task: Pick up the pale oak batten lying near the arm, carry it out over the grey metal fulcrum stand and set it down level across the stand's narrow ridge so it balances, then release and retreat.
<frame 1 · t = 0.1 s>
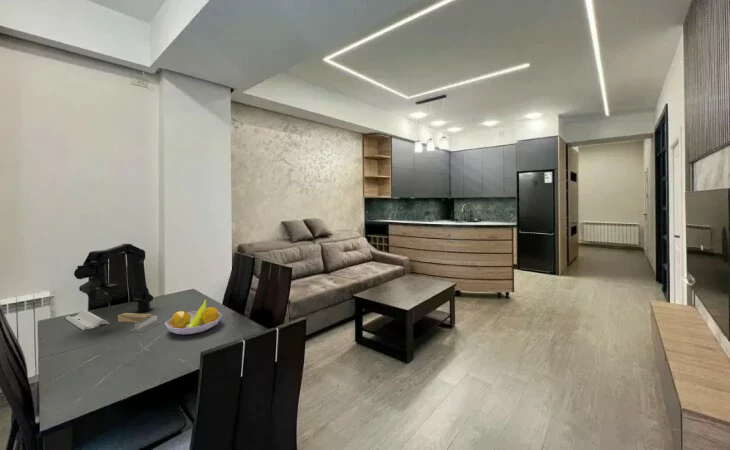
hand: (101, 303, 164), 15 cm above the table, fingers open, 9 cm apart
crown molding: (87, 322, 177), on the table
fruit bowl: (196, 328, 166), on the table
oak batten: (135, 321, 177), on the table
fulcrum stand: (146, 326, 169), on the table
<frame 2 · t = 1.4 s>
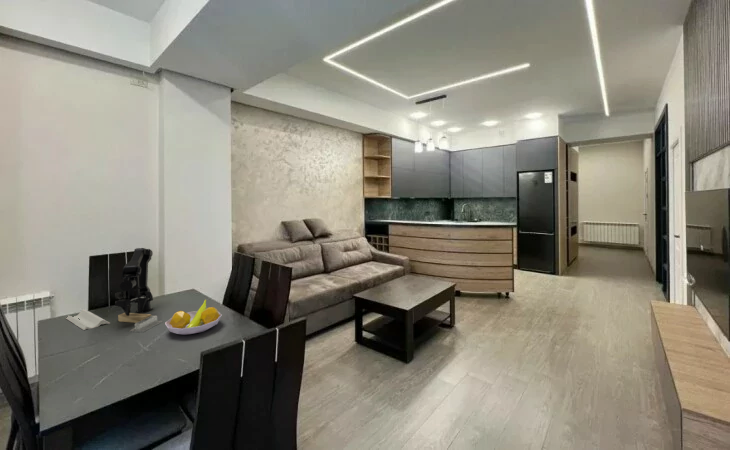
hand: (134, 312, 176), 5 cm above the table, fingers open, 9 cm apart
nothing on the table moved.
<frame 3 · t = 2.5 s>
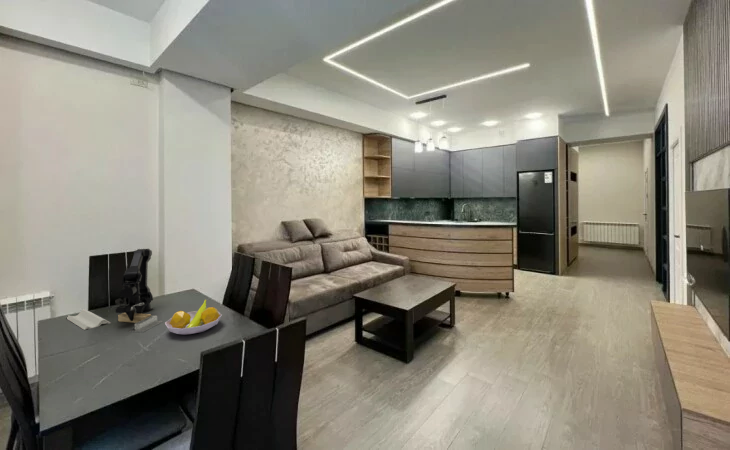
hand: (135, 319, 177), 1 cm above the table, fingers closed on oak batten, 4 cm apart
oak batten: (135, 321, 177), on the table, touching gripper
everything else where it was.
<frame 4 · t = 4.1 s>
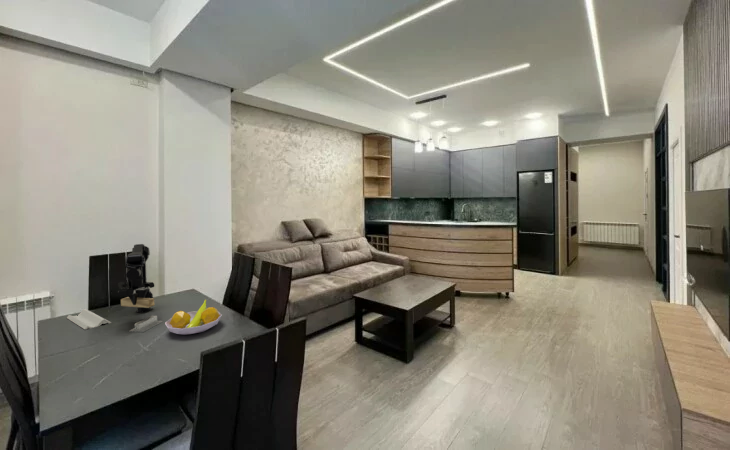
hand: (137, 303, 172), 11 cm above the table, fingers closed on oak batten, 4 cm apart
oak batten: (137, 305, 172), point 10 cm above the table, touching gripper
everything else where it was.
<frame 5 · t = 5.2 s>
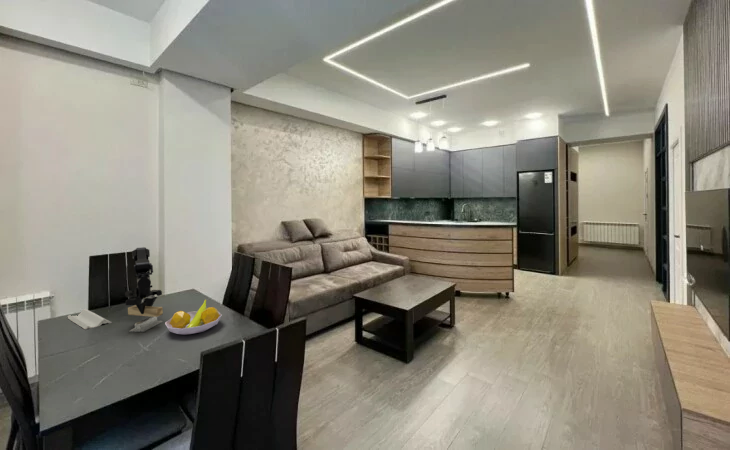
hand: (145, 312, 168), 8 cm above the table, fingers closed on oak batten, 4 cm apart
oak batten: (145, 314, 168), point 7 cm above the table, touching gripper
when the fingers open (6 cm above the table, at t = 5.8 s): oak batten stays where it is, resting on fulcrum stand.
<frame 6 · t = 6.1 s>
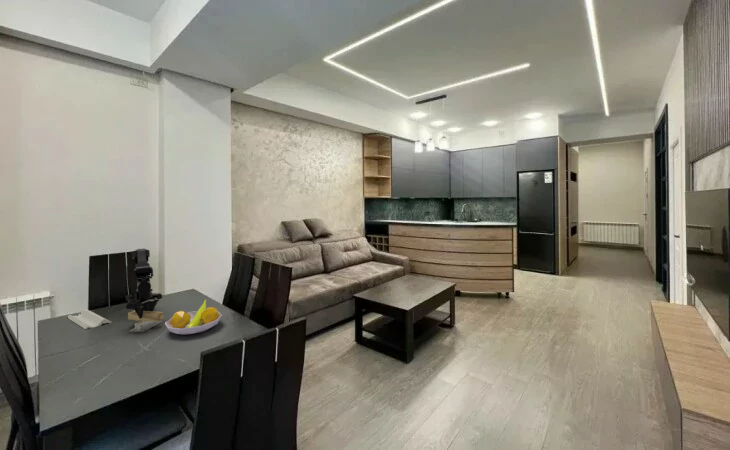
hand: (145, 316, 168), 6 cm above the table, fingers open, 7 cm apart
oak batten: (145, 319, 168), point 4 cm above the table, touching fulcrum stand
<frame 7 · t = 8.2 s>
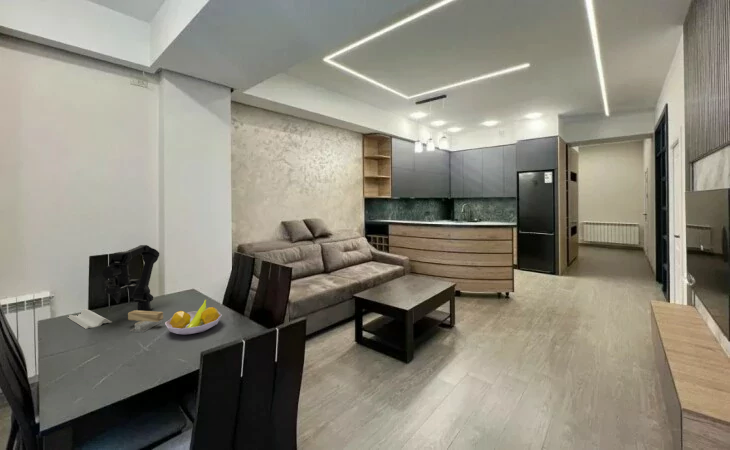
hand: (124, 300, 177), 12 cm above the table, fingers open, 9 cm apart
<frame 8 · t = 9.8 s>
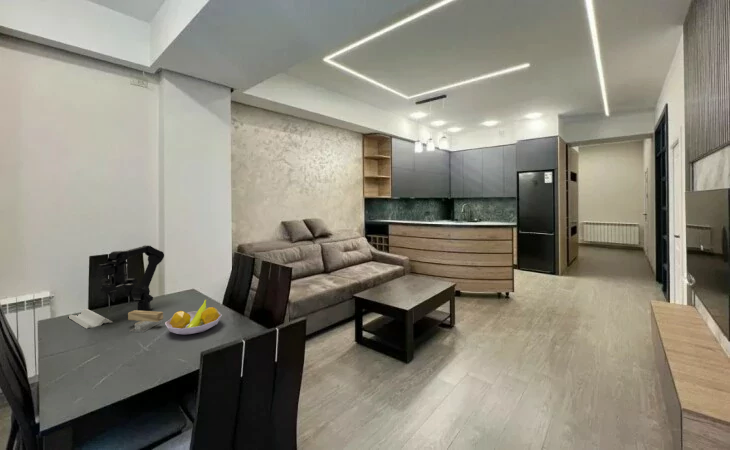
hand: (120, 299, 179), 12 cm above the table, fingers open, 9 cm apart
at the end: oak batten inside the target area on the fulcrum stand (0.1 cm from its centre), point 4.0 cm above the fulcrum stand's base; oak batten tilted 0°; oak batten touching fulcrum stand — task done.
